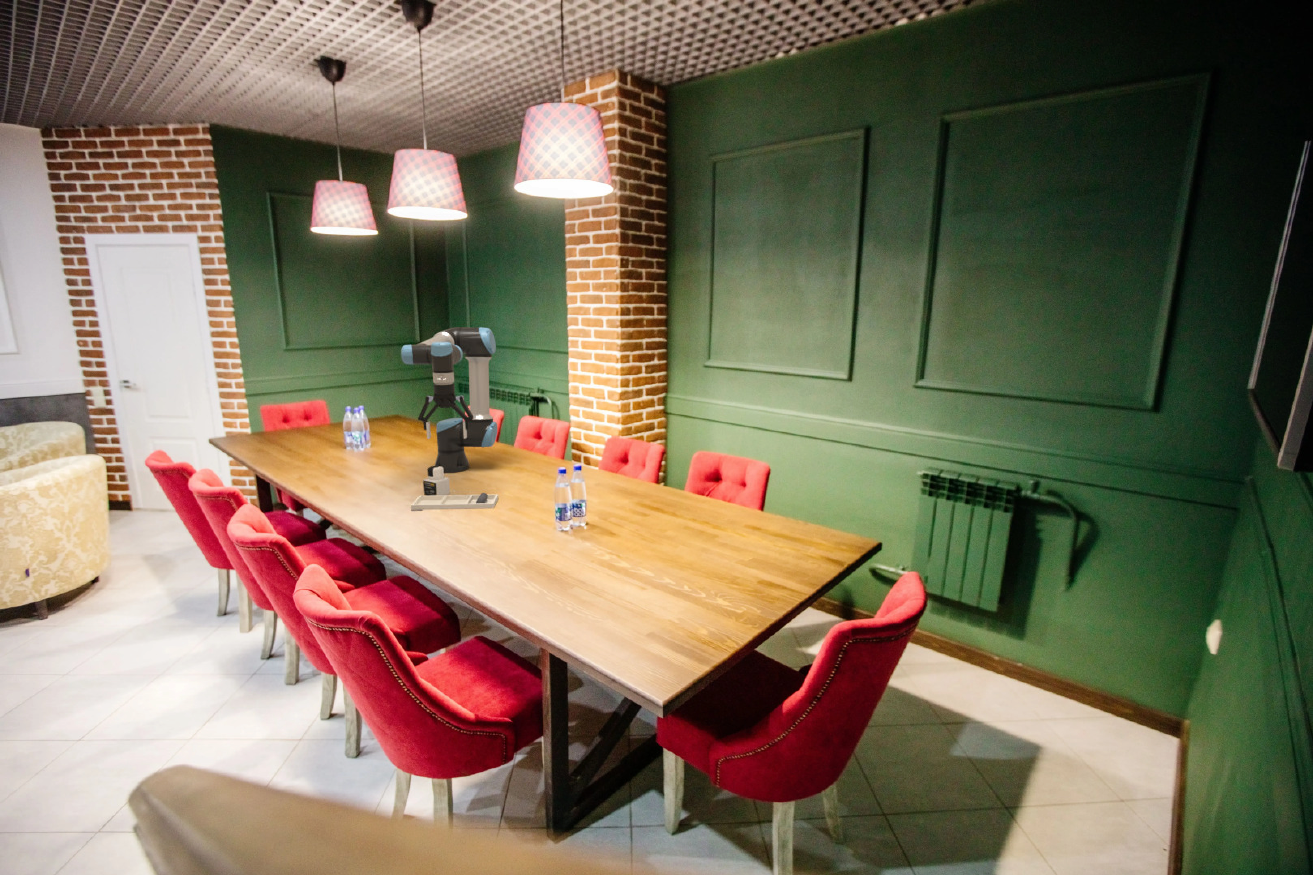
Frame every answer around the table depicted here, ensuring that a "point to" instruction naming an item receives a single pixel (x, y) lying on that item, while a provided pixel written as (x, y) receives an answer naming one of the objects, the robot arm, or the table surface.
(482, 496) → the grey cylinder
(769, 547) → the table surface
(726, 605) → the table surface
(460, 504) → the organiser
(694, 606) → the table surface
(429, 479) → the medicine bottle
